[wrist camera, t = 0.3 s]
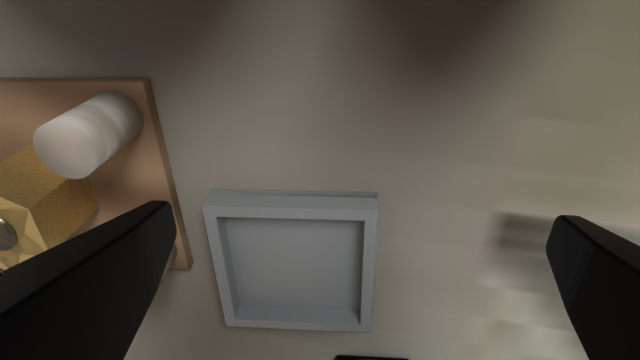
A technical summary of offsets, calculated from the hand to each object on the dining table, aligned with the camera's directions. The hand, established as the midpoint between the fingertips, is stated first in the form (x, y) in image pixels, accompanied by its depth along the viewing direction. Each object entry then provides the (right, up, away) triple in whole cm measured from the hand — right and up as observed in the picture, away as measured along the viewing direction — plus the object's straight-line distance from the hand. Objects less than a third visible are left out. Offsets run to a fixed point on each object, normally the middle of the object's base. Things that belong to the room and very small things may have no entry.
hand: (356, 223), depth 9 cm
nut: (-19, +1, +17) cm, 25 cm away
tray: (-3, -4, +19) cm, 20 cm away
